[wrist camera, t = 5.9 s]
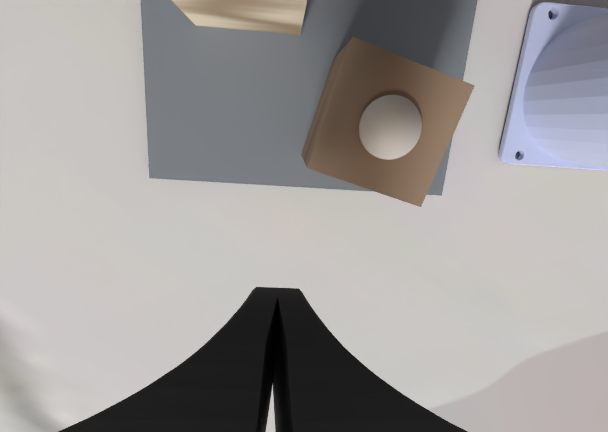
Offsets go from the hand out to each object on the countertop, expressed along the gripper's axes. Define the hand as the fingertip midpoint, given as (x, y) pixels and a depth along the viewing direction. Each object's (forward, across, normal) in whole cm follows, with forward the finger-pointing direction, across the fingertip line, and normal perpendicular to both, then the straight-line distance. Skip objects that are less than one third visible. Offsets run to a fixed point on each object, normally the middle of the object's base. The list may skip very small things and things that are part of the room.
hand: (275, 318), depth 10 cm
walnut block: (+10, -4, -6) cm, 12 cm away
